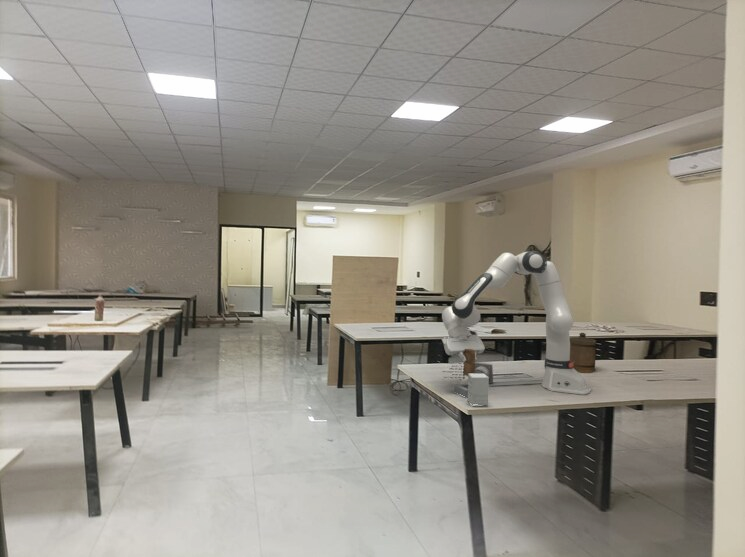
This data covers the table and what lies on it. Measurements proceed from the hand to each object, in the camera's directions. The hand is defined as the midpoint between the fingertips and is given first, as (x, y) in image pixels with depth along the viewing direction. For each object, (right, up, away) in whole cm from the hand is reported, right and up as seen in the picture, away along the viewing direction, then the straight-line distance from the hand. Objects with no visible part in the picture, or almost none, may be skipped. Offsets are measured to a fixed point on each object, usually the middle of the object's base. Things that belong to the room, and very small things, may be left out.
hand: (470, 360), depth 221 cm
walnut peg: (0, -7, +1) cm, 7 cm away
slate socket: (-1, -16, +1) cm, 16 cm away
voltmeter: (+4, -15, +24) cm, 29 cm away
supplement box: (0, -17, -14) cm, 22 cm away
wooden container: (+77, -16, +59) cm, 98 cm away
